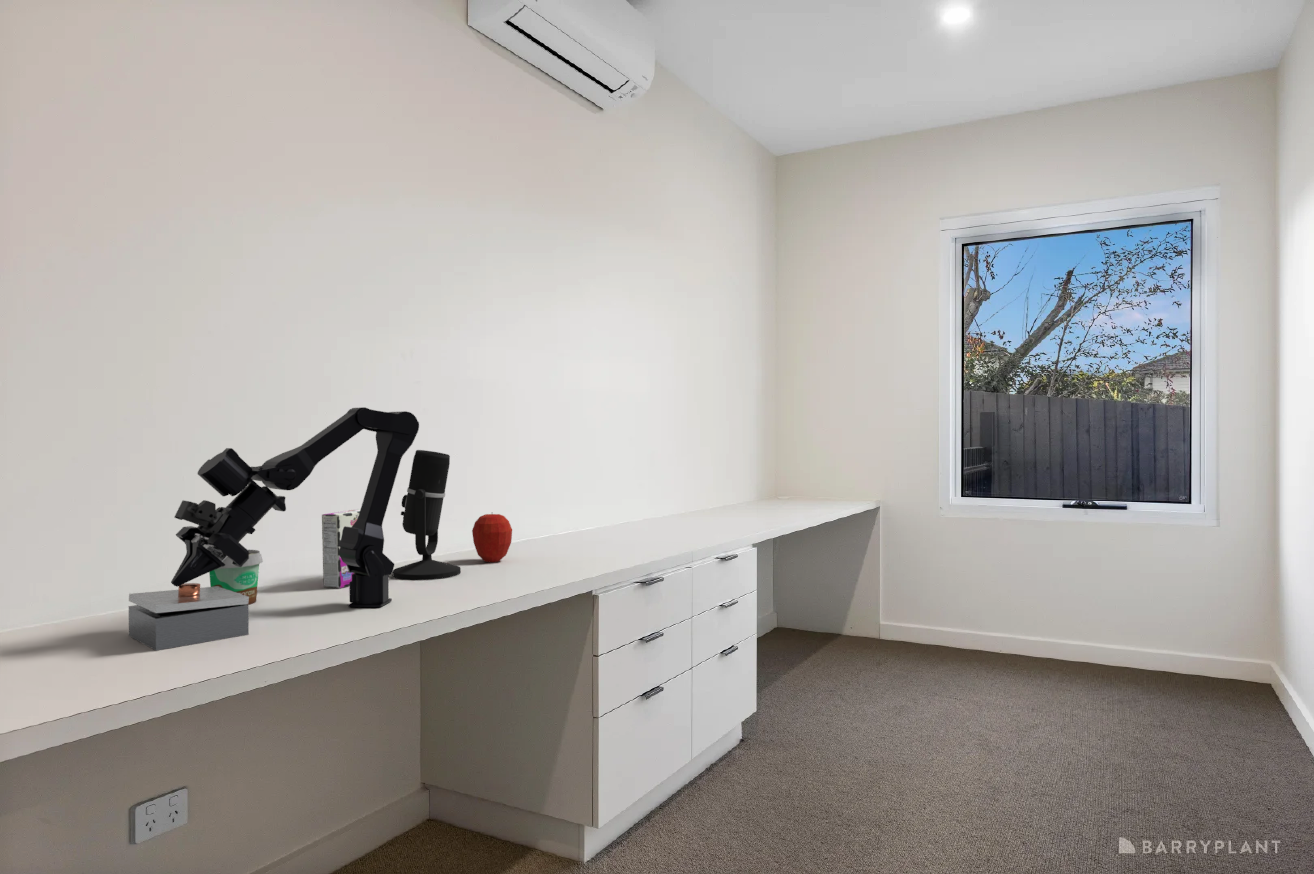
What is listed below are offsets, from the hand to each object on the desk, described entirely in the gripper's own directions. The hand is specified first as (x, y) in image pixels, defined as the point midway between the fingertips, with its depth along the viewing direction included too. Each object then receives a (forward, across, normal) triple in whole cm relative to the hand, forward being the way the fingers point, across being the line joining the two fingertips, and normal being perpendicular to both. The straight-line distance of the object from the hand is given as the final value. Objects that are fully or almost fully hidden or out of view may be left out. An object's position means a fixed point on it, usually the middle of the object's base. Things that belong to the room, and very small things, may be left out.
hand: (173, 584), depth 138 cm
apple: (-54, -27, +66) cm, 89 cm away
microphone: (-38, -22, +50) cm, 67 cm away
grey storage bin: (+5, 0, +8) cm, 9 cm away
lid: (+1, 0, +4) cm, 4 cm away
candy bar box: (-24, -25, +37) cm, 51 cm away
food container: (-7, -20, +20) cm, 29 cm away
